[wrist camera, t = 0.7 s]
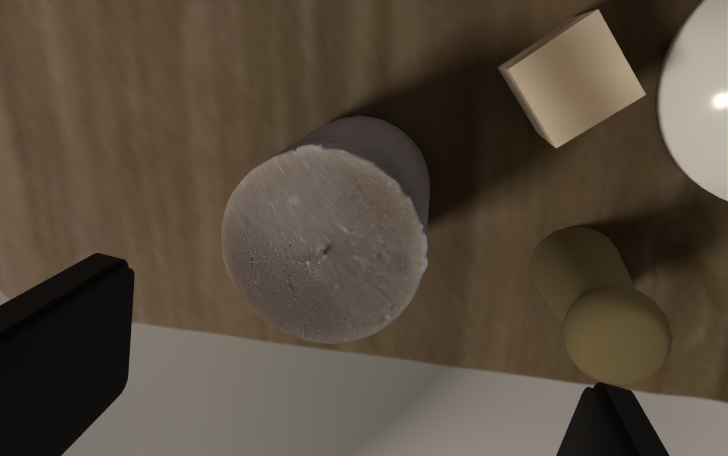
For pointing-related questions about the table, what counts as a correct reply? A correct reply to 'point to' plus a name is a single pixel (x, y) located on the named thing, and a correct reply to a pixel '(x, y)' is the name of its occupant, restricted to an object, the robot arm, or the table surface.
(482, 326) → the table surface
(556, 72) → the beech block
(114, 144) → the table surface
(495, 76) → the table surface
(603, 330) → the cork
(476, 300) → the table surface
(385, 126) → the pillar candle
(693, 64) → the plate
